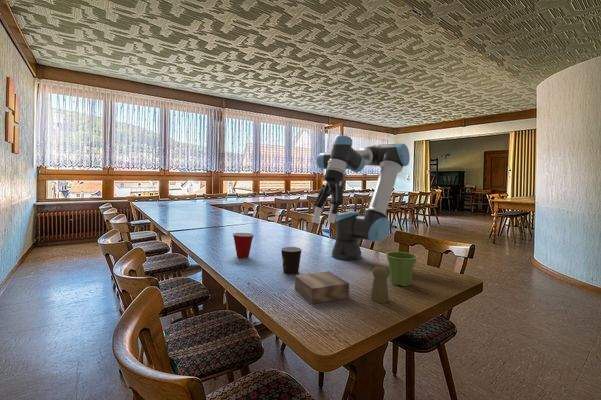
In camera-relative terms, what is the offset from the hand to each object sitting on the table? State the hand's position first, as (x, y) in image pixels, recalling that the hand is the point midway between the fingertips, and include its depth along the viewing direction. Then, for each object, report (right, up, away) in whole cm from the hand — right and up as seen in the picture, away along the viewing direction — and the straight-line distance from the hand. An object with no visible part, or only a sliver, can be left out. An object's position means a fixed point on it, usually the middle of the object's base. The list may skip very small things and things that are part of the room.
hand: (322, 222), depth 120 cm
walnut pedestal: (-1, -24, -12) cm, 27 cm away
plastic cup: (-37, -20, +34) cm, 54 cm away
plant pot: (+30, -24, 0) cm, 39 cm away
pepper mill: (+18, -25, -17) cm, 35 cm away
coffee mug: (-12, -22, +12) cm, 28 cm away
